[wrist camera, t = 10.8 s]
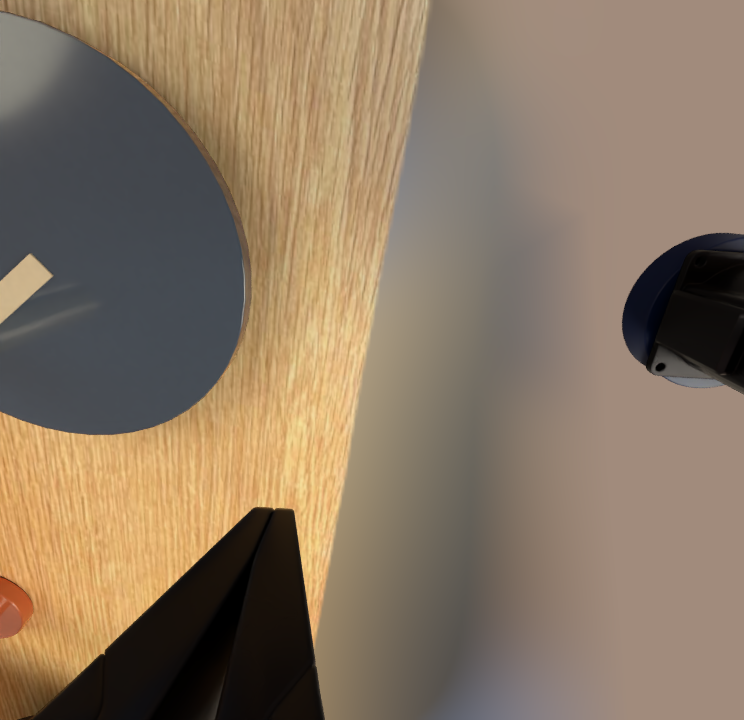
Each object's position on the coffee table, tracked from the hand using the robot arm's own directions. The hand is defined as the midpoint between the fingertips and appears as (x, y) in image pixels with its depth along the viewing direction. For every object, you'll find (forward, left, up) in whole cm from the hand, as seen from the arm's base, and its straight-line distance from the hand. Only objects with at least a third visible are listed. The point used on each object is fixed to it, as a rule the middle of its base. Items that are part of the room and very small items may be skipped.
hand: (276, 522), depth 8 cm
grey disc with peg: (+13, -3, -12) cm, 18 cm away
